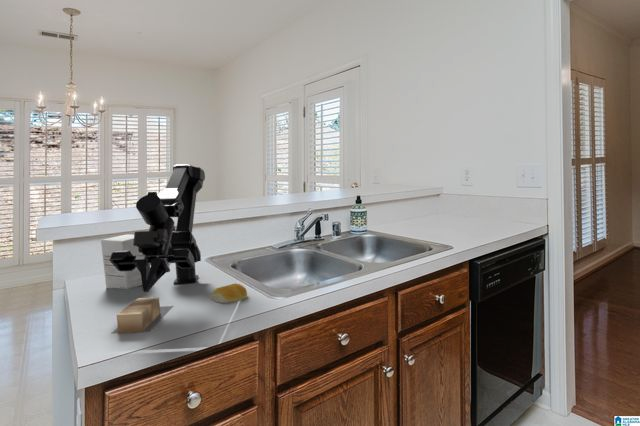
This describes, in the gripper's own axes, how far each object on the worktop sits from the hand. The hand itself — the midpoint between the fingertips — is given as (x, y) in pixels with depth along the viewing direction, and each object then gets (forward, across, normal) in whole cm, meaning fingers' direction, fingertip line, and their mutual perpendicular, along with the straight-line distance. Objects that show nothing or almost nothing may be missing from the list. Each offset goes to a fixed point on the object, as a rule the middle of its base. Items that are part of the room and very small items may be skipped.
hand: (145, 291), depth 86 cm
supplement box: (-14, -17, +24) cm, 33 cm away
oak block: (+2, 0, +4) cm, 4 cm away
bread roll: (-3, +17, +13) cm, 21 cm away
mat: (+6, 0, +4) cm, 7 cm away
